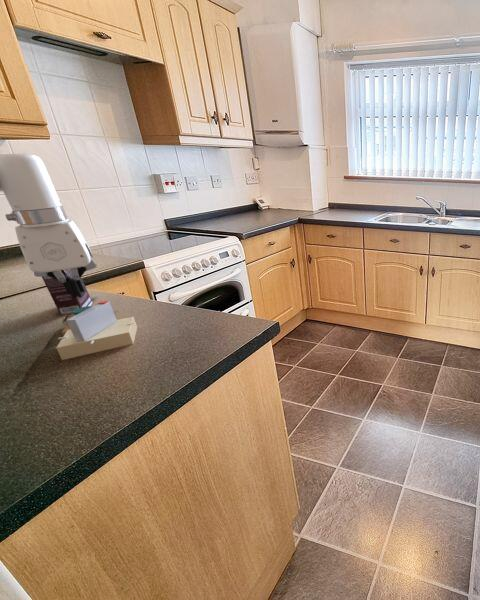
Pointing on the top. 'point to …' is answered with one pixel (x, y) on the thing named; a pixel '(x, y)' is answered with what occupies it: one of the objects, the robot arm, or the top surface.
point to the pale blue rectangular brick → (92, 321)
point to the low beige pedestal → (99, 339)
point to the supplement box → (65, 296)
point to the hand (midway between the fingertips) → (79, 295)
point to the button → (80, 310)
